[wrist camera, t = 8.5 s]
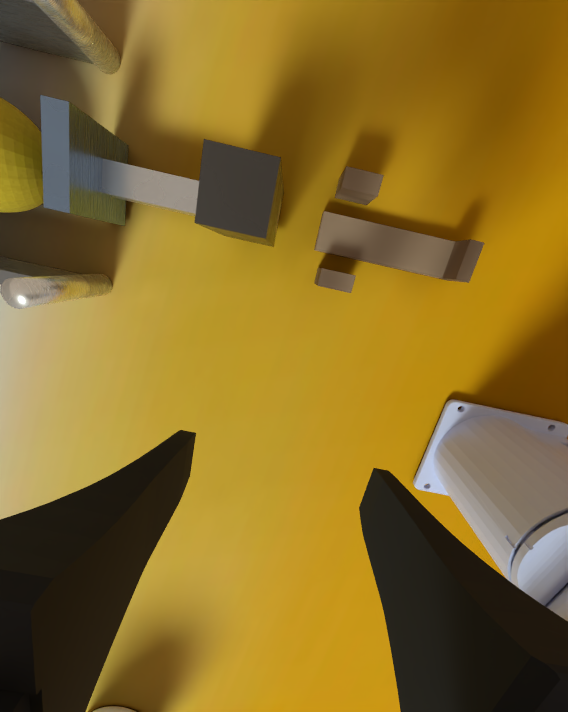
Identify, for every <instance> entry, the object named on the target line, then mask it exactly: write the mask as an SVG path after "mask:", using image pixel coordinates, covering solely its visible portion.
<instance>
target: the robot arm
mask: <svg viewBox="0 0 568 712" xmlns="http://www.w3.org/2000/svg"><path fill="white" fill-rule="evenodd" d="M460 406H462V408H461V409H459V410H458V407H460ZM550 425H551V426H550ZM549 426H550V427H549ZM548 427H549V428H548ZM195 436H196V433H193V432H188V431H183V430H180V431H178V432H177V433H175V434H174V435H172V436H171V437H169V438H168V439H167V440H165V441H164V442H162V443H161V444H159V445H158V446H157V447H155V448H154V449H152V450H151V451H149V452H148V453H146V454H145V455H143V456H142V457H140V458H139V459H137V460H135V461H134V462H132V463H130V464H129V465H127V466H125V467H124V468H122V469H120V470H119V471H117V472H115V473H113V474H112V475H110V476H108V477H106V478H104V479H102V480H100V481H98V482H96V483H94V484H92V485H90V486H88V487H85V488H83V489H81V490H79V491H76V492H74V493H71V494H69V495H67V496H64V497H62V498H60V499H57V500H55V501H52V502H50V503H47V504H45V505H42V506H39V507H36V508H34V509H31V510H28V511H25V512H22V513H19V514H16V515H13V516H10V517H7V518H4V519H1V520H0V712H85V711H86V709H87V706H88V703H89V701H90V698H91V696H92V693H93V691H94V688H95V686H96V683H97V681H98V678H99V676H100V673H101V671H102V668H103V666H104V663H105V661H106V658H107V656H108V653H109V651H110V648H111V646H112V643H113V641H114V639H115V636H116V634H117V631H118V629H119V627H120V624H121V622H122V619H123V617H124V615H125V612H126V610H127V607H128V605H129V603H130V600H131V598H132V596H133V593H134V591H135V589H136V586H137V584H138V582H139V579H140V577H141V575H142V572H143V570H144V568H145V566H146V564H147V562H148V560H149V558H150V556H151V554H152V552H153V551H154V549H155V547H156V545H157V543H158V541H159V539H160V537H161V536H162V534H163V532H164V530H165V528H166V526H167V524H168V523H169V521H170V519H171V517H172V515H173V513H174V511H175V509H176V507H177V506H178V504H179V502H180V500H181V497H182V495H183V492H184V490H185V487H186V485H187V482H188V479H189V477H190V471H191V464H192V457H193V450H194V443H195ZM567 436H568V424H566V423H564V422H560V421H555V420H550V419H545V418H541V417H536V416H531V415H526V414H521V413H517V412H512V411H507V410H502V409H497V408H493V407H488V406H483V405H478V404H474V403H469V402H464V401H459V400H449V401H448V402H447V403H446V405H445V407H444V409H443V412H442V414H441V417H440V419H439V421H438V424H437V426H436V429H435V431H434V433H433V436H432V438H431V440H430V443H429V445H428V448H427V450H426V452H425V455H424V457H423V459H422V462H421V464H420V467H419V469H418V471H417V474H416V476H415V479H414V481H413V484H414V486H415V488H416V489H418V490H423V491H428V492H434V493H439V494H444V495H449V496H450V497H451V499H452V500H453V501H454V503H455V504H456V506H457V507H458V509H459V510H460V512H461V513H462V515H463V516H464V518H465V519H466V520H467V522H468V523H469V525H470V526H471V528H472V529H473V531H474V532H475V534H476V535H477V536H478V538H479V539H480V541H481V542H482V544H483V545H484V547H485V548H486V550H487V551H488V552H489V554H490V555H491V557H492V558H493V560H494V561H495V563H496V564H497V566H498V567H499V568H500V570H501V571H502V573H503V574H504V576H505V577H506V578H505V577H503V576H502V575H501V574H499V573H498V572H497V571H495V570H494V569H493V568H491V567H490V566H489V565H488V564H486V563H485V562H484V561H483V560H481V559H480V558H479V557H478V556H477V555H475V554H474V553H473V552H472V551H471V550H469V549H468V548H467V547H466V546H465V545H464V544H462V543H461V542H460V541H459V540H458V539H457V538H456V537H455V536H454V535H452V534H451V533H450V532H449V531H448V530H447V529H446V528H445V527H444V526H443V525H442V524H441V523H440V522H439V521H438V520H437V519H436V518H435V517H434V516H433V515H432V514H431V513H430V512H429V511H428V510H427V509H426V508H425V507H424V506H423V505H422V504H421V503H420V502H419V501H418V500H417V499H416V498H415V497H414V496H413V495H412V494H411V493H410V492H409V491H408V490H407V489H406V488H405V487H404V486H403V485H402V484H401V483H400V481H399V480H398V479H397V478H396V477H395V476H394V475H392V474H391V473H390V472H389V471H387V470H382V469H377V468H374V469H373V471H372V474H371V477H370V480H369V482H368V485H367V488H366V491H365V493H364V496H363V499H362V502H361V504H360V507H359V510H360V518H361V525H362V531H363V536H364V540H365V544H366V548H367V551H368V555H369V559H370V562H371V566H372V569H373V573H374V576H375V580H376V584H377V587H378V591H379V594H380V598H381V602H382V606H383V610H384V615H385V620H386V625H387V630H388V636H389V641H390V647H391V652H392V658H393V664H394V670H395V676H396V682H397V688H398V695H399V702H400V709H401V712H568V439H566V438H567ZM425 484H427V485H425Z"/></svg>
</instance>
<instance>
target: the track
mask: <svg viewBox="0 0 568 712" xmlns="http://www.w3.org/2000/svg"><path fill="white" fill-rule="evenodd" d="M382 179H383V175H381V174H376V173H372V172H368V171H364V170H360V169H356V168H352V167H347V166H346V168H345V170H344V172H343V173H342V175H341V177H340V179H339V182H338V186H337V190H336V194H335V198H338V199H343V200H347V201H351V202H355V203H360V204H364V205H367V204H368V203H370V202H371V201H372V200H373V199H375V198H376V197H377V196H378V193H379V190H380V186H381V183H382ZM483 245H484V243H483V242H479V241H475V240H464V241H457V242H454V241H450V240H446V239H442V238H437V237H433V236H429V235H424V234H420V233H416V232H412V231H407V230H403V229H399V228H394V227H390V226H386V225H381V224H377V223H373V222H369V221H364V220H360V219H356V218H351V217H347V216H343V215H339V214H334V213H330V212H326V211H324V212H323V214H322V219H321V223H320V227H319V232H318V236H317V240H316V245H315V249H314V250H316V251H320V252H325V253H329V254H334V255H338V256H342V257H347V258H351V259H356V260H360V261H364V262H369V263H373V264H378V265H382V266H386V267H391V268H395V269H400V270H404V271H409V272H413V273H417V274H422V275H426V276H431V277H435V278H439V279H444V280H449V281H459V282H468V283H469V281H470V278H471V276H472V273H473V271H474V268H475V266H476V263H477V260H478V258H479V255H480V253H481V250H482V248H483ZM354 280H355V275H350V274H346V273H341V272H337V271H332V270H328V269H324V268H318V270H317V274H316V278H315V284H316V285H318V286H322V287H326V288H331V289H335V290H340V291H344V292H349V293H351V291H352V287H353V284H354Z"/></svg>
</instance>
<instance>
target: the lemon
mask: <svg viewBox="0 0 568 712" xmlns="http://www.w3.org/2000/svg"><path fill="white" fill-rule="evenodd" d="M43 203H44V200H43V167H42V134H41V132H40V130H39V129H38V128H37V126H36V125H35V124H34V123H33V122H32V121H31V120H30V119H29V118H28V117H27V116H26V115H25V114H23V113H22V112H21V111H20V110H18V109H17V108H16V107H15V106H13V105H12V104H10V103H9V102H7V101H5V100H4V99H2V98H0V212H22V211H27V210H31V209H34V208H36V207H38V206H40V205H41V204H43Z"/></svg>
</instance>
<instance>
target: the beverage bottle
mask: <svg viewBox="0 0 568 712" xmlns="http://www.w3.org/2000/svg"><path fill="white" fill-rule="evenodd" d="M93 712H136V711H134V710H131V709H128V708H124V707H118V706H108V707H102V708H99V709H96V710H94V711H93Z"/></svg>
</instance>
